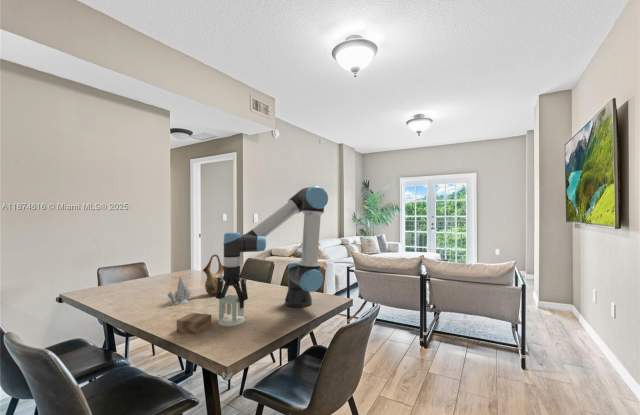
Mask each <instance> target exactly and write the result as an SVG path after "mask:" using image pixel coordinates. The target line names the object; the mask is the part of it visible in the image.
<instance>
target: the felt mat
mask: <svg viewBox="0 0 640 415" xmlns="http://www.w3.org/2000/svg"><path fill="white" fill-rule="evenodd" d="M245 321H246V318H245V317H244V316H238V315H236V320H235V321H232V315H227V316H224V318H223V319H219V318H218V321H217V324H218V326H221V327H236V326H240V325H242V324H243V323H245Z"/></svg>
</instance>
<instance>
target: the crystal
mask: <svg viewBox="0 0 640 415" xmlns="http://www.w3.org/2000/svg"><path fill="white" fill-rule="evenodd" d="M190 296H191V290H189V288H188V284H185V283H184V281H183V279H182V276H181V275H180V276H179V278H178V283H177V290H175V292H173V291H172V290H169V292H167V297H168V299H170V301H169V303H168V305H170V306H183V305H185V304H188V303H189V300H188V299H189V297H190Z"/></svg>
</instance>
